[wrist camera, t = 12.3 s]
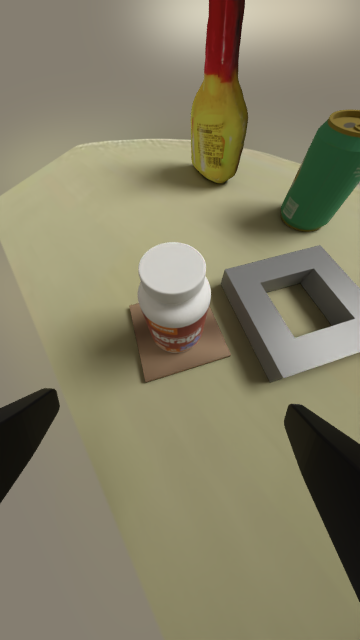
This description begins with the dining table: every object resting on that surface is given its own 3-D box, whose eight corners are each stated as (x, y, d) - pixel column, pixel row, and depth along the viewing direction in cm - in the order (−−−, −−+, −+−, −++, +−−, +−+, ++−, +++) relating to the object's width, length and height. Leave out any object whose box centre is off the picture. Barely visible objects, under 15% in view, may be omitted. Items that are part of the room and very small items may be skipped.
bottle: (182, 167, 40) (180, -28, 22) (204, 158, 42) (220, -31, 24) (217, 193, 36) (252, -25, 18) (241, 182, 37) (295, -29, 19)
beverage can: (295, 198, 35) (346, 102, 24) (335, 219, 32) (412, 121, 21) (268, 216, 33) (310, 120, 22) (308, 240, 30) (379, 143, 19)
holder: (376, 346, 22) (403, 336, 19) (270, 382, 20) (283, 378, 17) (306, 261, 28) (320, 245, 25) (220, 284, 26) (224, 269, 23)
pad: (229, 356, 22) (231, 354, 21) (146, 382, 20) (145, 381, 20) (200, 289, 26) (201, 286, 25) (130, 308, 25) (129, 305, 24)
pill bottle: (152, 356, 21) (123, 308, 11) (151, 310, 24) (127, 237, 14) (206, 351, 21) (225, 299, 11) (198, 305, 24) (209, 231, 14)
